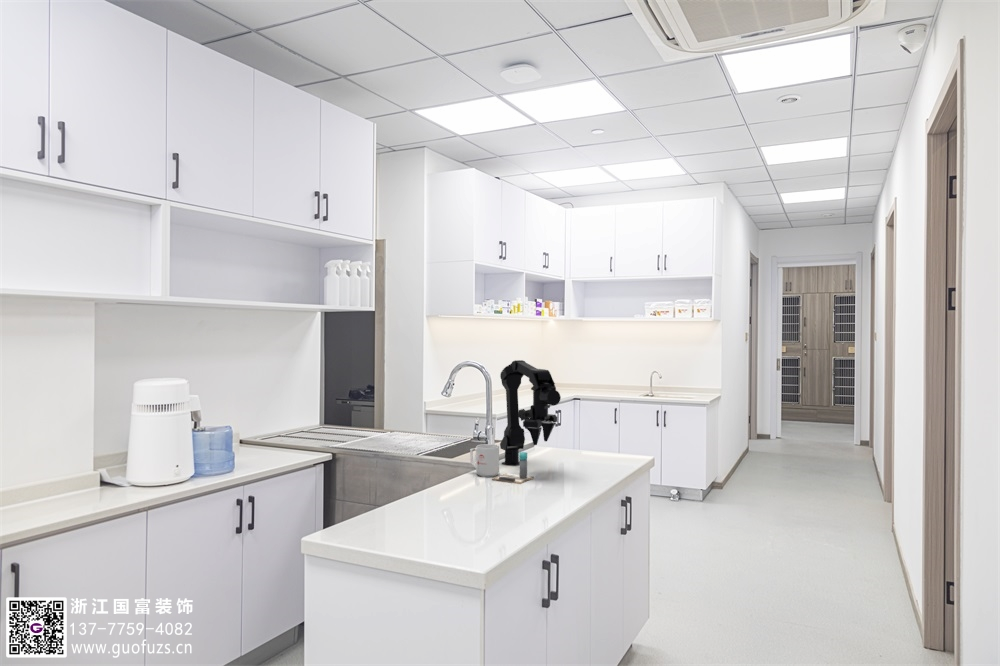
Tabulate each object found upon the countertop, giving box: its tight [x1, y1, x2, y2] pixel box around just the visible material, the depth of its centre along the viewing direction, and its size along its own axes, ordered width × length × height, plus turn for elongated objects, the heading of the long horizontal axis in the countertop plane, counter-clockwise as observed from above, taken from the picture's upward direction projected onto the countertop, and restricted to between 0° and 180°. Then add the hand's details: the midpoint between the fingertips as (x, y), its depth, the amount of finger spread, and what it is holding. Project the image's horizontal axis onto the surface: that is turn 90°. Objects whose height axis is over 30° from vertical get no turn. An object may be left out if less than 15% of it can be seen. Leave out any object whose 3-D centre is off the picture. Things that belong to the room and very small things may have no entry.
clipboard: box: [491, 473, 535, 485], centre depth 252 cm, size 11×12×1 cm
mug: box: [469, 443, 500, 478], centre depth 259 cm, size 12×9×11 cm
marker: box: [519, 451, 528, 479], centre depth 251 cm, size 3×3×9 cm
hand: (540, 443), depth 257 cm, fingers open, 9 cm apart
